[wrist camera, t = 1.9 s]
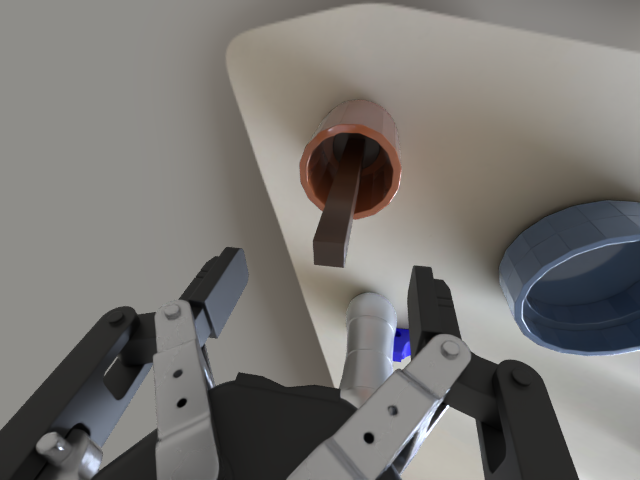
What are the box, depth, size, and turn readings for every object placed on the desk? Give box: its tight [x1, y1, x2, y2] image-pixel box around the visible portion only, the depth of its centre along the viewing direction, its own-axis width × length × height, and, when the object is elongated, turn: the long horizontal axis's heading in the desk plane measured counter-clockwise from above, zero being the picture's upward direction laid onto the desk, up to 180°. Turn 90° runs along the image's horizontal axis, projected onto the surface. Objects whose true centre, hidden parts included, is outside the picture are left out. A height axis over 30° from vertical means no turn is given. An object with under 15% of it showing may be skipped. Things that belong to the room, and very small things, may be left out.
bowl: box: [499, 200, 640, 356], centre depth 30 cm, size 15×15×6 cm
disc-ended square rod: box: [313, 133, 381, 268], centre depth 22 cm, size 4×4×17 cm
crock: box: [299, 100, 402, 220], centre depth 26 cm, size 8×8×8 cm
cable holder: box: [392, 328, 411, 362], centre depth 43 cm, size 8×4×4 cm, turn 94°
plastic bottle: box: [339, 293, 397, 409], centre depth 34 cm, size 6×7×20 cm
